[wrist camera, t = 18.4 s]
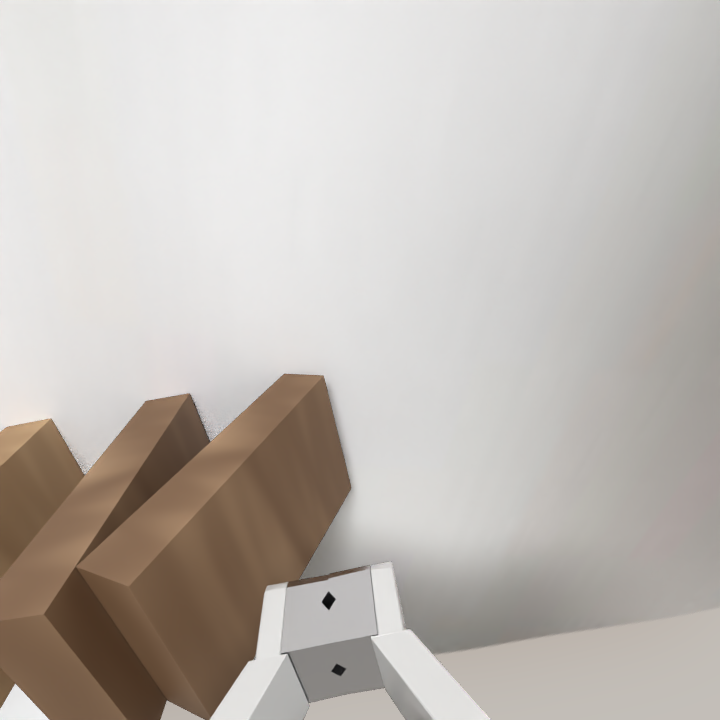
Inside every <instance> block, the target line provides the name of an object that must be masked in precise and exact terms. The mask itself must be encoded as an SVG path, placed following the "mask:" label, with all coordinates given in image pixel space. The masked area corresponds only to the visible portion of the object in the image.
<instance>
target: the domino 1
mask: <svg viewBox="0 0 720 720" xmlns="http://www.w3.org/2000/svg"><path fill="white" fill-rule="evenodd" d="M83 478H84V474H83V472H82V471H81V469H80V467H79V465H78V464H77V462H76V460H75V459H74V457H73V455H72V454H71V452H70V450H69V448H68V447H67V445H66V443H65V442H64V440H63V438H62V436H61V435H60V433H59V431H58V430H57V428H56V426H55V424H54V423H53V421H52V419H46V420H41V421H35V422H30V423H25V424H20V425H15V426H9V427H6V428H5V429H4V430H3V431H1V432H0V579H1V578H2V577H3V575H4V574H5V573H6V572H7V571H8V569H9V568H10V567H11V566H12V564H13V563H14V562H15V561H16V559H17V558H18V557H19V556H20V555H21V553H22V552H23V551H24V550H25V548H26V547H27V546H28V545H29V544H30V542H31V541H32V540H33V539H34V537H35V536H36V535H37V534H38V533H39V531H40V530H41V529H42V528H43V526H44V525H45V524H46V523H47V522H48V520H49V519H50V518H51V517H52V515H53V514H54V513H55V512H56V511H57V509H58V508H59V507H60V506H61V504H62V503H63V502H64V501H65V500H66V498H67V497H68V496H69V495H70V493H71V492H72V491H73V490H74V489H75V487H76V486H77V485H78V484H79V482H80V481H81V480H82V479H83ZM14 684H15V682H14V681H13V680H12V679H11V678H10V677H9V676H8V675H7V674H6V673H5V672H4V671H3V670H2V669H1V668H0V708H1V707H2V705H3V703H4V701H5V700H6V698H7V696H8V695H9V693H10V691H11V690H12V688H13V686H14Z"/></svg>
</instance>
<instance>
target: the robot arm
mask: <svg viewBox="0 0 720 720" xmlns="http://www.w3.org/2000/svg"><path fill="white" fill-rule="evenodd" d="M381 688H385V689H386V691H387V693H388V694H389V696H390V697H391V699H392V700H393V702H394V703H395V705H396V706H397V708H398V709H399V711H400V712H401V714H402V715H403V717H404V718H405V719H406V720H491V719H490V718H489V717H488V716H487V714H486V713H485V712H484V711H483V710H482V709H481V708H480V707H479V705H478V704H477V703H476V702H475V701H474V700H473V699H472V698H471V696H470V695H469V694H468V693H467V692H466V691H465V690H464V689H463V687H462V686H461V685H460V684H459V683H458V682H457V681H456V680H455V679H454V677H453V676H452V675H451V674H450V673H449V672H448V671H447V669H446V668H445V667H444V666H443V665H442V664H441V663H440V662H439V661H438V659H437V658H436V657H435V656H434V655H433V654H432V653H431V652H430V650H429V649H428V648H427V647H426V646H425V645H424V644H423V643H422V641H421V640H420V639H419V638H418V637H417V636H416V635H415V634H414V632H413V631H412V630H411V629H407V630H406V627H405V621H404V616H403V611H402V606H401V602H400V597H399V592H398V588H397V583H396V578H395V574H394V569H393V564H392V561H390V562H385V563H380V564H375V565H371V566H370V565H367V566H363V567H358V568H354V569H349V570H344V571H340V572H335V573H330V574H329V575H325V576H319V577H313V578H307V579H301V580H295V581H289V582H284V583H279V584H274V585H268V586H267V588H266V590H265V592H264V598H263V605H262V612H261V620H260V627H259V634H258V642H257V649H256V656H255V660H251V661H248V663H247V664H246V666H245V667H244V669H243V670H242V672H241V673H240V675H239V676H238V678H237V679H236V681H235V682H234V684H233V685H232V687H231V688H230V690H229V691H228V693H227V694H226V696H225V697H224V699H223V700H222V702H221V703H220V705H219V706H218V708H217V709H216V711H215V712H214V714H213V715H212V717H211V718H210V720H304V718H305V715H306V713H307V710H308V708H309V703H311V702H315V701H319V700H324V699H328V698H333V697H337V696H341V695H346V694H351V693H357V692H363V691H369V690H375V689H381Z"/></svg>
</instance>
